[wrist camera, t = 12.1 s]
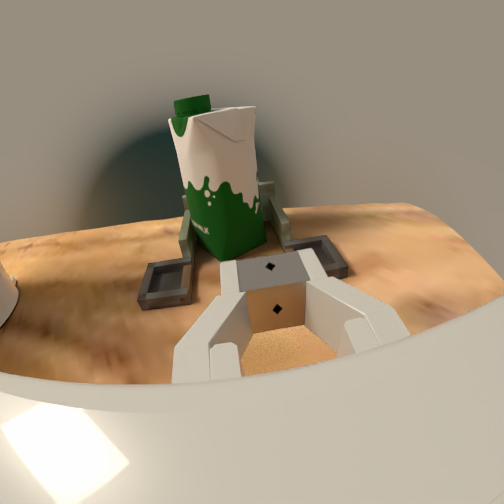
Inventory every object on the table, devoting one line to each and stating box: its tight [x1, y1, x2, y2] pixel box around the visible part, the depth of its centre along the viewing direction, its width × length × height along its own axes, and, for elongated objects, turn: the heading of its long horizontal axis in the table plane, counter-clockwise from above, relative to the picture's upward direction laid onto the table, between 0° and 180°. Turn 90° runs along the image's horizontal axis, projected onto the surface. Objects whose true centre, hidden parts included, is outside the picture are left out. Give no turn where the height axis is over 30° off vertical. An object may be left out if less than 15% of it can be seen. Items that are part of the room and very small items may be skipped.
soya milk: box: [168, 95, 267, 262], centre depth 33 cm, size 9×9×20 cm
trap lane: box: [137, 181, 348, 310], centre depth 34 cm, size 23×17×6 cm
